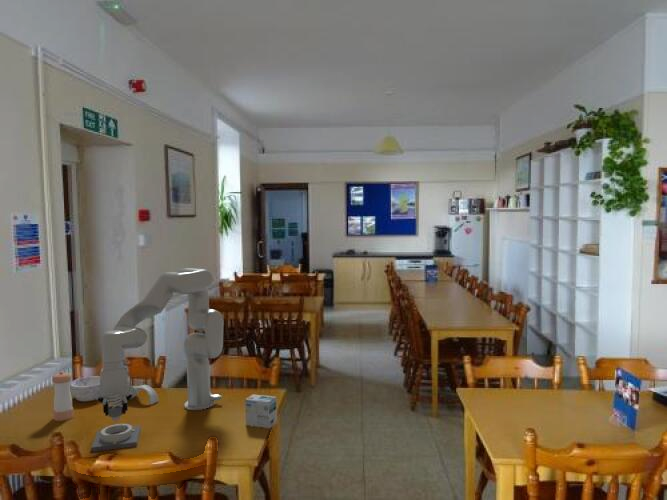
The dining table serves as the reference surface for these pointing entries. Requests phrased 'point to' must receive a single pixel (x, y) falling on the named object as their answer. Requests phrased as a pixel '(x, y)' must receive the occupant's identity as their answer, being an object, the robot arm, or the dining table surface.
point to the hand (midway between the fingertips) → (115, 413)
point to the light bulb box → (261, 411)
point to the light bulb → (115, 406)
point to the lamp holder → (116, 437)
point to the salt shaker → (62, 397)
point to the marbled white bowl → (85, 388)
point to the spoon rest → (149, 390)
